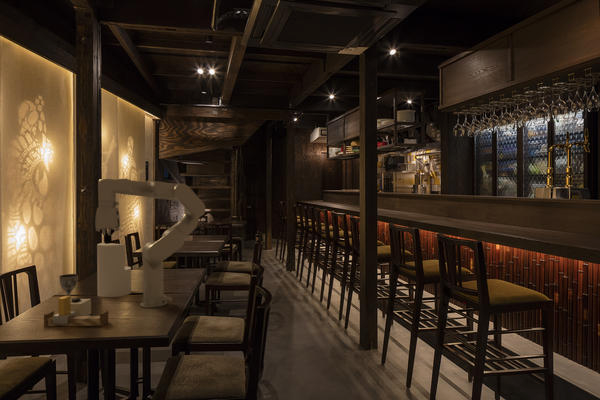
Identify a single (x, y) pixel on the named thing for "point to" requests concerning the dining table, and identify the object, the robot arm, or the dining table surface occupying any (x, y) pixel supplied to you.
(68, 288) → the wine glass
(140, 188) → the robot arm
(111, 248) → the cylinder
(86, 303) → the housing
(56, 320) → the carriage
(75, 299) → the plunger
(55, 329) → the dining table surface
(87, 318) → the rail
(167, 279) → the dining table surface
